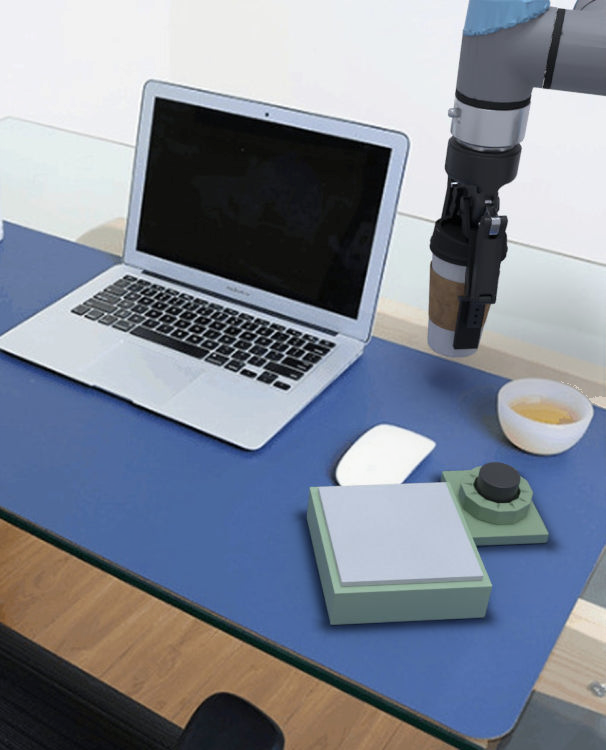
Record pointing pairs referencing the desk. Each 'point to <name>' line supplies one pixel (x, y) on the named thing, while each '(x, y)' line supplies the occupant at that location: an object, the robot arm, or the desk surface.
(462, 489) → the panel
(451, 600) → the scale
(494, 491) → the tare button
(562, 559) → the desk surface
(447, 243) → the coffee cup
